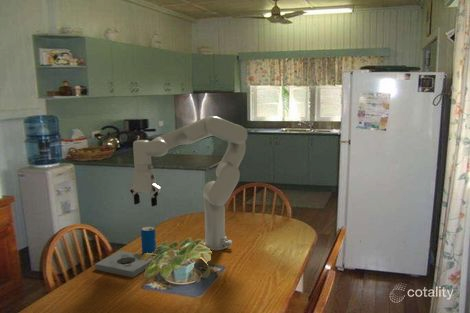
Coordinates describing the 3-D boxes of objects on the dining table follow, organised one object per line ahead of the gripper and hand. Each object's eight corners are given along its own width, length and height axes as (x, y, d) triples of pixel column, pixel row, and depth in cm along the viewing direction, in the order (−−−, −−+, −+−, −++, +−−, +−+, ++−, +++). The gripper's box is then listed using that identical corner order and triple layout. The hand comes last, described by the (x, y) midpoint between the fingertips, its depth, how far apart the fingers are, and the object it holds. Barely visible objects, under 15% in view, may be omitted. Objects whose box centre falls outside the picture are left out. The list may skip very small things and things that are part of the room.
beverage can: (153, 256, 191) (151, 230, 190) (139, 255, 193) (138, 230, 191) (158, 251, 198) (157, 226, 196) (145, 250, 199) (144, 225, 197)
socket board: (156, 263, 184) (156, 257, 183) (132, 277, 170) (132, 271, 169) (120, 256, 192) (120, 250, 192) (95, 269, 178) (94, 263, 178)
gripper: (164, 167, 189) (166, 204, 191) (133, 165, 196) (135, 201, 199) (153, 170, 182) (156, 208, 184) (122, 168, 189) (125, 205, 192)
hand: (145, 204), depth 192 cm, fingers open, 9 cm apart
